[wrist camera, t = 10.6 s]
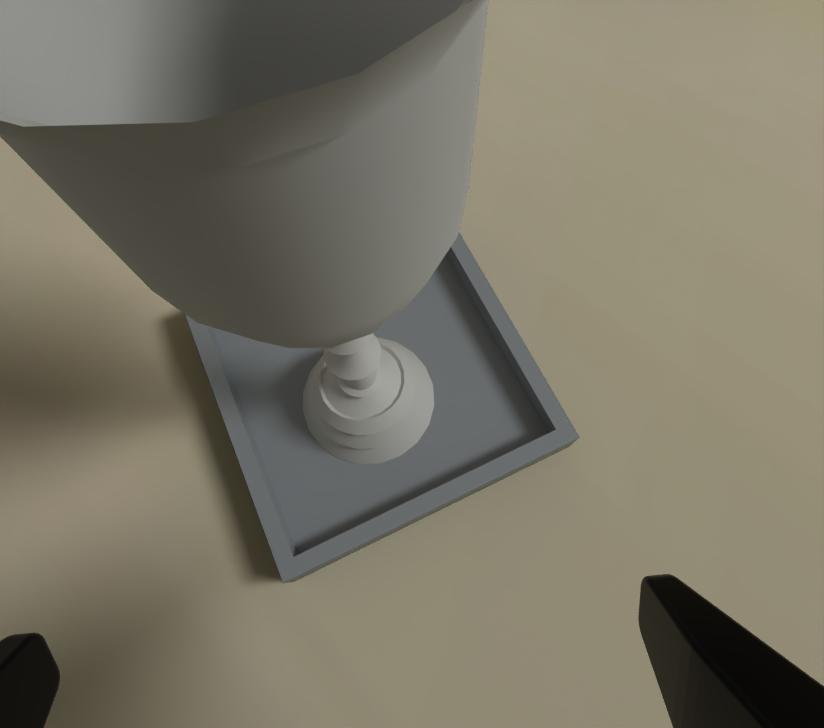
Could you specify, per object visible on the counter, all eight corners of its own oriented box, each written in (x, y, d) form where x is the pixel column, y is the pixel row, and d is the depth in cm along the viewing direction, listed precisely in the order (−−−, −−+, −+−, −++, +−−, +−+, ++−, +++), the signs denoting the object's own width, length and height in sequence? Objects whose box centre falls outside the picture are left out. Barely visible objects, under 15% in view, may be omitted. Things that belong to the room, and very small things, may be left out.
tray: (569, 446, 21) (579, 437, 20) (293, 581, 20) (282, 582, 19) (438, 218, 25) (438, 197, 24) (196, 320, 24) (181, 305, 22)
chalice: (248, 362, 22) (-309, -283, 5) (398, 284, 23) (321, -465, 6) (332, 530, 20) (-173, 314, 3) (495, 435, 21) (763, -109, 4)
